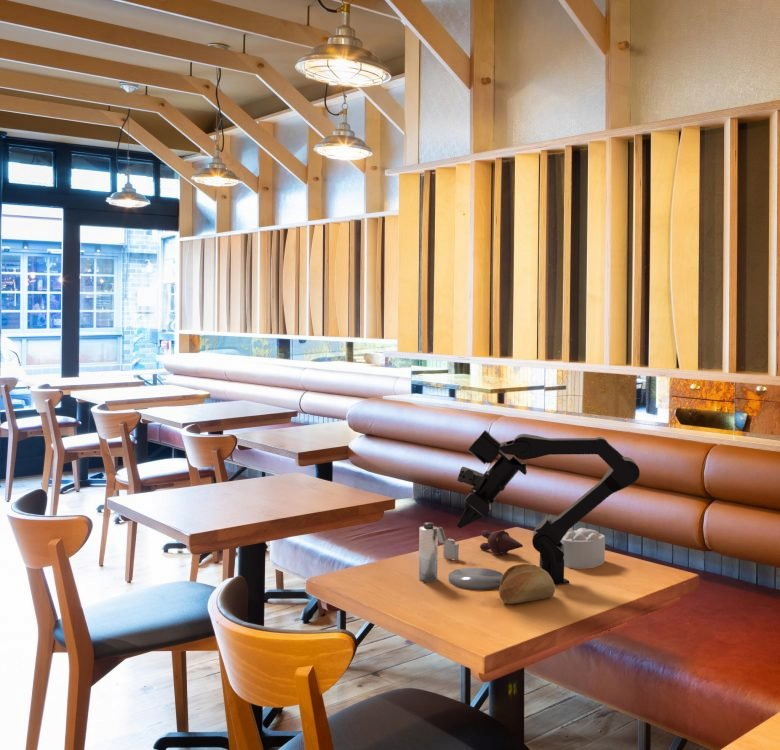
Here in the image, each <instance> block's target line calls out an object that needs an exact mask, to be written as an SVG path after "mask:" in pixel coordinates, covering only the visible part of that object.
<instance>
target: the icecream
mask: <svg viewBox="0 0 780 750" xmlns="http://www.w3.org/2000/svg"><path fill="white" fill-rule="evenodd" d="M481 536H482V538H485V539H487V542H483V543H481V544H480V545H479V548H480V551H481V550H483V551H491V552H493V553H494V554H497V555H500V556H504V555H506V554H508V552H509V551H512V550H515V549H519V548H523V547H524V544H523V543H521V542H519V541H518V540H516V539H515V538H513V537H511V536H510V533H509V532H507V531H505V530H504V529H503V530H495V531H493V532H491V530H489V529H483V530H482V531H481ZM503 554H504V555H503Z"/></svg>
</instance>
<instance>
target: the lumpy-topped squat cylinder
mask: <svg viewBox="0 0 780 750" xmlns="http://www.w3.org/2000/svg"><path fill="white" fill-rule="evenodd" d="M560 542H561V543H562V544H563V545H564V568H567V567H568V568H567V569H579V570H580V569H583V570H584V569H593V568H597V567H599V566H601V565H603V563H604V562H605V561H606V560H605V558H606V557H605V556H606V555H605V554H606V536H605V535H604V534H602V533H600V532H599V531H597V530H595V529H588V528H585V527H580V528H578V529H576V530H574V528H572V527H571V528H570V529H569V530H568V531H567V533H566V534H565V535H564V537H563V538H562V540H561V541H560ZM604 564H605V563H604Z"/></svg>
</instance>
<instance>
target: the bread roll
mask: <svg viewBox="0 0 780 750" xmlns="http://www.w3.org/2000/svg"><path fill="white" fill-rule="evenodd" d="M498 588H499V589H498V593H499V598H500V599H501V601H502V602H503V603H505V604H510V605H511V604H512V605H513V604H519V603H520V604H521V603H525V602H531V601H537V600H545V599H550V598H552V597H553V596H554V594H555V591H556V585H554V582H553V580H552V578H551V576H550V575H549V573H548V572H546V571H545V570H543V569H542V568H540V566H537V565H536V564H529V563H521V564H516V565H513V566H510V567H508V568H507V569H506V571H504V573H503V577H502V579H501V582H500V587H498Z"/></svg>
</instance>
